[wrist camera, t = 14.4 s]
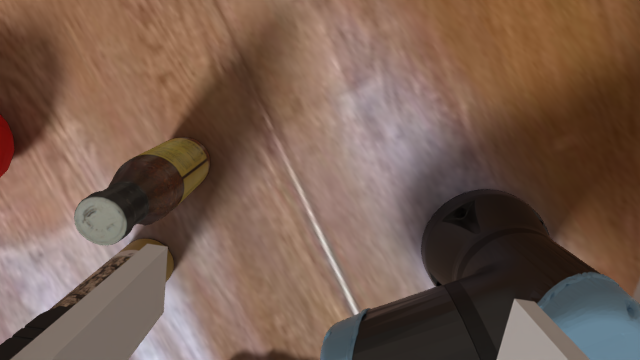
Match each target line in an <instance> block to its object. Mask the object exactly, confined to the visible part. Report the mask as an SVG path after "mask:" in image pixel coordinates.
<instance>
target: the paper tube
mask: <svg viewBox="0 0 640 360" xmlns="http://www.w3.org/2000/svg"><path fill="white" fill-rule="evenodd" d="M146 244H153V245H160V246H164V245H163V244H161V243H160V242H158V241H155V240H152V239H138V240H135V241H133V242H131V243H130V244H129V245H127V246H126V247H125V248H124V249H123V250H121V251H120V252H119V253H118V254H116V255H115V256H114V257H112V258H111V259H110V260H109V261H108V262H106V263H105V264H104V265H103V266H102V267H100V268H99V269H98V270H97V271H96V272H94V273H93V274H92V275H91V276H89V277H88V278H87V279H86V280H85V281H83V282H82V283H81V284H80V285H79V286H77V287H76V288H75V289H74V290H72V291H71V292H70V293H69V294H68V295H66V296H65V297H64V298H63V299H62V300H60V301H59V302H58V303H57V304H56V305H54V306H53V307H52V308H51V309H53V308H55V307H57V306H65V307H73V306H74V305H75V304H77V303H78V302H79V301H80V300H81V299H82V298H84V297H85V296H86V295H87V294H88V293H90V292H91V291H92V290H93V289H94V288H95V287H97V286H98V285H99V284H100V283H101V282H103V281H104V280H105V279H106V278H107V277H109V276H110V275H111V274H112V273H113V272H114V271H116V270H117V269H118V268H119V267H120V266H122V265H123V264H124V263H125V262H126V261H127V260H129V259H130V258H131V257H132V256H133V255H135V254H136V253H137V252H138V251H139V250H141V249H142V248H143V247H144V246H145V245H146ZM173 268H174V262H173V258H172V255H171V253H170V252H169V250H168V252H167V267H166V282H167V280H168V279H169V278H170V276H171V274H172V272H173ZM166 282H165V283H166ZM51 309H49V310H51ZM49 310H48V311H49Z"/></svg>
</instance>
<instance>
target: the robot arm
mask: <svg viewBox="0 0 640 360" xmlns="http://www.w3.org/2000/svg"><path fill="white" fill-rule="evenodd" d="M167 252H168V247H167V246H160V245H153V244H146V245H145V246H144V247H143V248H142V249H141V250H139V251H138V252H137V253H136V254H135V255H133V256H132V257H131V258H130V259H129V260H127V261H126V262H125V263H124V264H123V265H122V266H120V267H119V268H118V269H117V270H116V271H114V272H113V273H112V274H111V275H110V276H109V277H107V278H106V279H105V280H104V281H103V282H101V283H100V284H99V285H98V286H97V287H95V288H94V289H93V290H92V291H91V292H90V293H88V294H87V295H86V296H85V297H84V298H82V299H81V300H80V301H79V302H78V303H77V304H75V305H74V306H73V307H65V306H57V307H55V308H53V309H51V310H49V311H46V312H44V313H42V314H40V315H38V316H37V317H36V318H34V319H33V320H32V321H31V322H29V323H28V324H27V325H25V328H22V329H20V330H19V331H18V332H16V333H15V334H14V335H13V337H12V338H9V339H7V340H6V341H5V342H4V343H2V344H1V345H0V360H128V359H129V358H130V356H131V355H132V354H133V352H134V351H135V350H136V348H137V347H138V346H139V344H140V343H141V342H142V340H143V339H144V338H145V336H146V335H147V334H148V332H149V331H150V330H151V328H152V327H153V326H154V324H155V323H156V322H157V320H158V319H159V318H160V316H161V315H162V314H163V312H164V297H165V282H166V267H167ZM421 254H422V260H423V264H424V267H425V269H426V271H427V273H428V275H429V277H430V279H431V281H432V282H433V284H434V285H435V286H436V287H434V288H432V289H429V290H426V291H423V292H420V293H417V294H414V295H411V296H408V297H406V298H403V299H400V300H397V301H394V302H391V303H388V304H385V305H382V306H379V307H376V308H373V309H370V308H368V309H364V310H363V311H362V312H361V313H359V314H357V315H354V316H352V317H350V318H347V319H345V320H342V321H340V322H337V323H336V324H334V325H333V326H332V327H331V328H330V329H329V330H328V332H327V333H326V336H325V337H324V341H323V345H322V348H321V356H320V360H640V304H639V303H637V301H635V300H634V299H633V298H632V297H631V296H630V295H628V294H627V293H626V292H625V291H624V290H623V289H622V288H621V287H619V284H617V283H616V282H615V281H614V280H612V279H611V278H609V277H607V276H605V275H603V274H600V273H599V272H598V271H596V270H595V269H593V268H592V267H590V266H589V265H587V264H586V263H585V262H583V261H582V260H580V259H579V258H577V257H576V256H574V255H573V254H572V253H570V252H569V251H567V250H566V249H564V248H563V247H561V246H560V245H559V244H557V243H556V242H554V241H553V240H552V239H551V238H550V237H549V233H548V230H547V228H546V226H545V224H544V222H543V220H542V219H541V217H540V216H539V215H538V213H537V212H536V211H535V210H534V209H533V208H532V207H530V206H529V205H528V204H526V203H525V202H523V201H522V200H520V199H518V198H517V197H515V196H513V195H511V194H509V193H506V192H502V191H498V190H488V189H486V190H475V191H470V192H467V193H464V194H461V195H459V196H457V197H455V198H453V199H451V200H450V201H448V202H447V203H445V204H444V205H443V206H442V207H441V208H440V209H439V210H438V211H437V212H436V213H435V214H434V215H433V217H432V218H431V220H430V221H429V223H428V225H427V227H426V229H425V232H424V235H423V239H422V245H421Z"/></svg>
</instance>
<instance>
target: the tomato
mask: <svg viewBox="0 0 640 360" xmlns="http://www.w3.org/2000/svg"><path fill="white" fill-rule="evenodd" d="M13 153H14V141H13V135H12V133H11V130H10V128H9V126H8V123H7V122H6V120H5V119H4V118H3V117H2V116H1V115H0V177H1V176H2V175H3V174H4V173H5V172H6V171H7V170H8V168H9V165H10V163H11V160H12V157H13Z"/></svg>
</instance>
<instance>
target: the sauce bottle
mask: <svg viewBox="0 0 640 360" xmlns="http://www.w3.org/2000/svg"><path fill="white" fill-rule="evenodd" d="M209 168H210V157H209V154H208V152H207V150H206V149H205V147H204V146H203V145H202V144H201V143H200V142H198V141H197V140H195V139H192V138H186V137H178V138H174V139H171V140H168V141H166V142H164V143H162V144H160V145H158V146H156V147H154V148H152V149H150V150H148V151H146V152H144V153H142V154H140V155H138V156H136V157H134V158H132V159H130V160H129V161H127V162H126V163H124V164H123V165H122V166H121V167H120V168H119V169H118V171H117V172H116V174H115V176H114V178H113V179H112V181H111V183H110V185H109V187H108V188H107V189H105V190H103V191H99V192H95V193H93V194H91V195H89V196H88V197H87V198H85V199H83V200H82V201H81V202H80V203H79V205H78V207H77V208H76V211H75V216H74V219H75V225H76V228H77V230H78V231H79V233H80V234H81V235H82V236H83V237H85V238H86V239H87V240H89V241H91V242H93V243H95V244H99V245H112V244H115V243H117V242H119V241H120V240H121V239H123V238H124V237H125V236H127V235H128V234H129V233H130V232H131V230H132V228H133V226H134V225H136V224H142V225H148V224H152V223H153V222H155V221H157V220H159V219H161V218H163V217H164V216H166V215H167V214H168V213H169V212H170V211H171V210H173V209H174V208H175V207H176V206H178V205H179V204H180V203H181V202H182V201H183V200H184V199H185V198H186V197H187V196H188V195H189V194H190V193H191V192H192V191H193V190H194V189H195V188H196V187H197V186H198V185H199V184H200V183H201V182H202V181H203V180H204V179H205V177H206V176H207V174H208V171H209Z"/></svg>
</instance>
